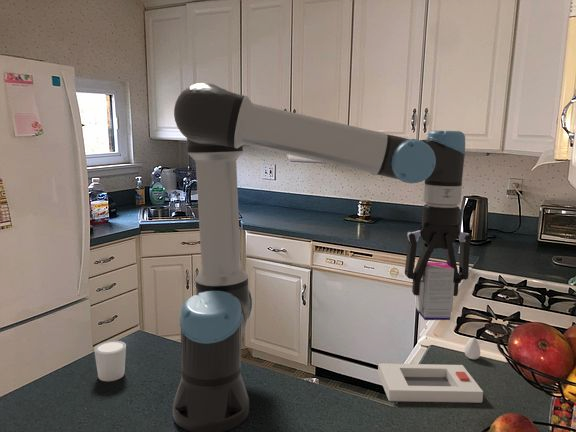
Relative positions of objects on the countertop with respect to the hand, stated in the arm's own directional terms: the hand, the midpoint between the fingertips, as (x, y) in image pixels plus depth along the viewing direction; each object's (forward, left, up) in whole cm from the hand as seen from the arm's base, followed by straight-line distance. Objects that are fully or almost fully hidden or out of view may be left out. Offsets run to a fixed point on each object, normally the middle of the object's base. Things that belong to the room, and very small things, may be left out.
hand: (433, 309), depth 105 cm
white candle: (-72, +3, -19) cm, 75 cm away
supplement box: (0, 0, -2) cm, 2 cm away
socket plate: (0, 0, -18) cm, 18 cm away
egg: (+16, +15, -19) cm, 29 cm away
